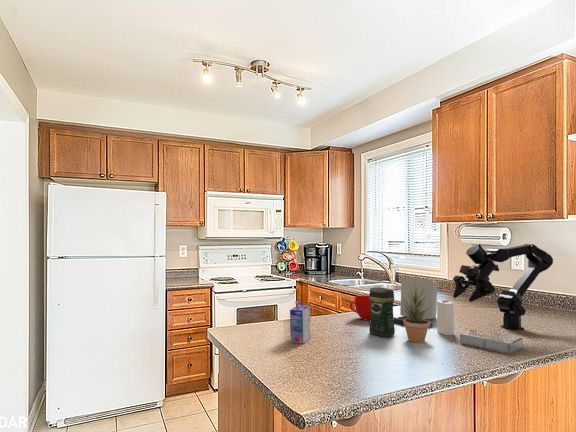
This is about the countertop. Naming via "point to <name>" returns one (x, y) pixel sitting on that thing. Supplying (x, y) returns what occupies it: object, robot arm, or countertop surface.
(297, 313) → the ink cartridge box
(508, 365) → the countertop surface
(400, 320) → the disk drive
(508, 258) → the robot arm
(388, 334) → the coffee jar
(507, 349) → the rack
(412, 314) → the potted plant
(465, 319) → the countertop surface
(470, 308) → the countertop surface
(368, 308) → the ceramic cup
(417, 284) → the electrical switch box
